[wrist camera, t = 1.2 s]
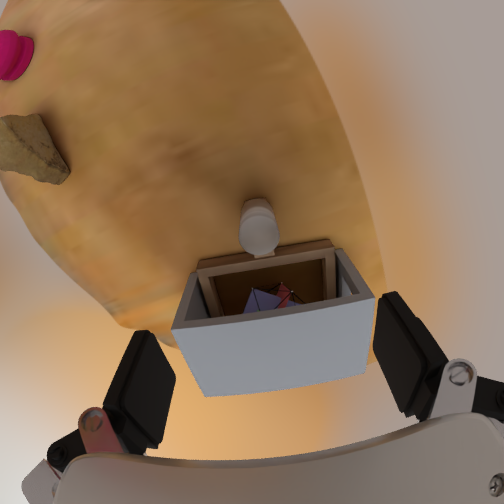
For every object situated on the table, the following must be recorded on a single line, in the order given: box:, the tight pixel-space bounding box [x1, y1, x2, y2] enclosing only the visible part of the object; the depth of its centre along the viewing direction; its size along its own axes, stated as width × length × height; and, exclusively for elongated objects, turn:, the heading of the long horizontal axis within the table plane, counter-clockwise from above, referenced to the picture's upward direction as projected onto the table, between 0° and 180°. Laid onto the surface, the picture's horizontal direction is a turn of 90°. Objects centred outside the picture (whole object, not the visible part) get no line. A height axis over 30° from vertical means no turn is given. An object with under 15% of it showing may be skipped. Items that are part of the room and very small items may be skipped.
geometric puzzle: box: [243, 282, 305, 314], centre depth 29 cm, size 7×7×8 cm
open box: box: [171, 249, 375, 397], centre depth 27 cm, size 10×17×10 cm, turn 100°
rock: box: [0, 114, 70, 185], centre depth 20 cm, size 11×9×10 cm
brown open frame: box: [196, 198, 336, 318], centre depth 27 cm, size 18×14×7 cm
